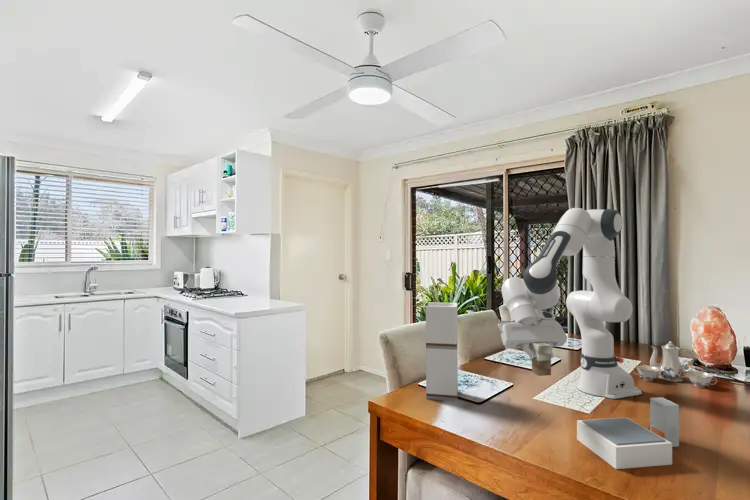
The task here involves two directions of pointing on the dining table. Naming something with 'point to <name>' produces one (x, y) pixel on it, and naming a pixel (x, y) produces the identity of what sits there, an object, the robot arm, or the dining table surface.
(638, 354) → the dining table surface
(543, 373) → the block
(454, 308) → the banded white tower
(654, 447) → the block
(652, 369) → the chinaware
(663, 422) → the skincare box
